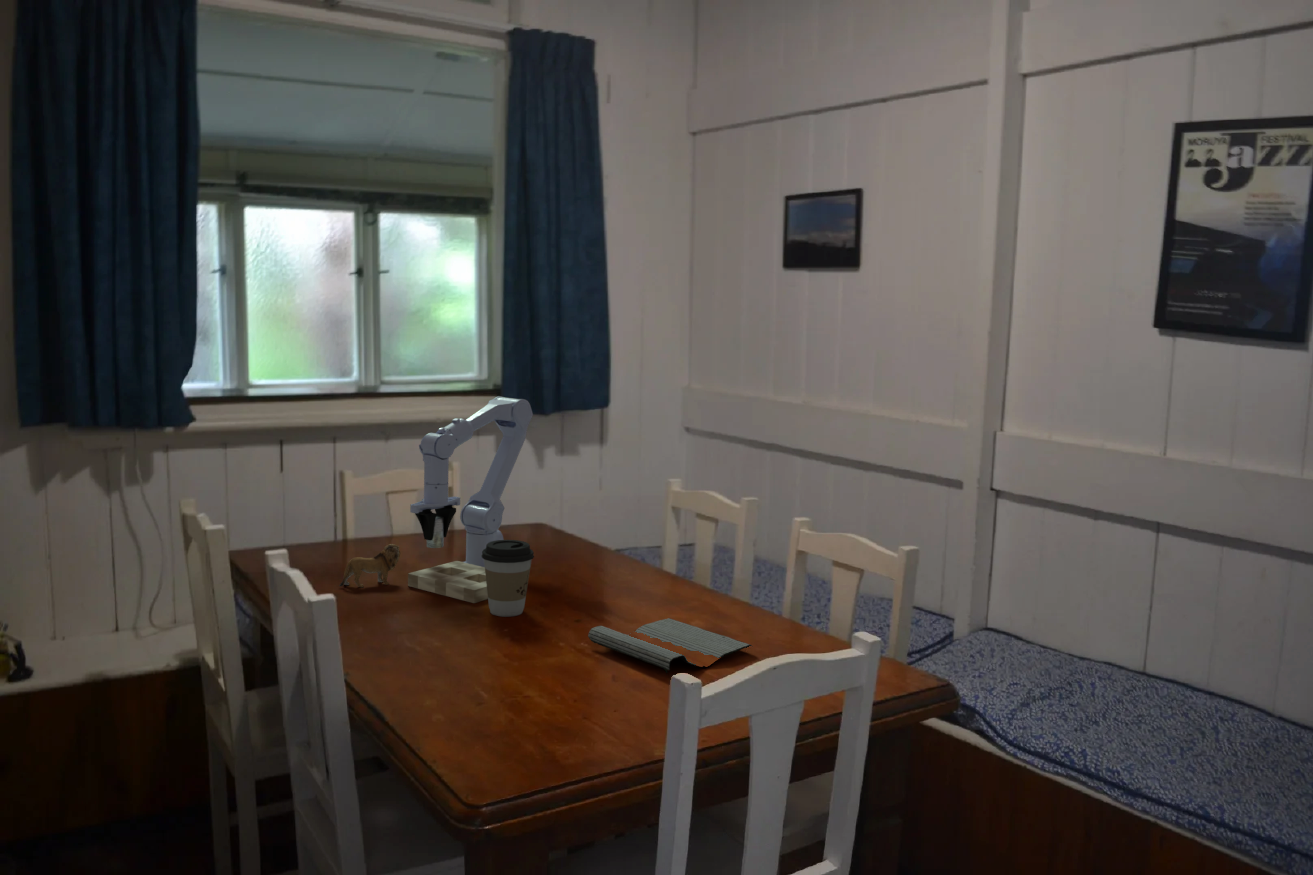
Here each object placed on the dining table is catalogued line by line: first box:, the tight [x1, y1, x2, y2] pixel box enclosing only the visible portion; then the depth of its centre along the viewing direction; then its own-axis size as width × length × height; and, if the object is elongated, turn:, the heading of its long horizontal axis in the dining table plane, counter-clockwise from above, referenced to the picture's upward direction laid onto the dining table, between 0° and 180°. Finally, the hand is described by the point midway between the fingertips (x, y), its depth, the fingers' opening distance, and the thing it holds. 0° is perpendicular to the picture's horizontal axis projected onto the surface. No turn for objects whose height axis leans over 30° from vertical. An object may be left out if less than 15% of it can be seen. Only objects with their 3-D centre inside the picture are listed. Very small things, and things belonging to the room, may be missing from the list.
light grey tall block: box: [426, 516, 445, 549], centre depth 243 cm, size 4×4×7 cm
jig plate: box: [407, 560, 488, 604], centre depth 236 cm, size 16×21×3 cm
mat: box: [587, 617, 753, 674], centre depth 198 cm, size 23×24×5 cm
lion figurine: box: [338, 543, 401, 588], centre depth 235 cm, size 15×5×9 cm, turn 129°
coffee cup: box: [481, 539, 535, 618], centre depth 218 cm, size 11×11×15 cm
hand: (435, 538), depth 244 cm, fingers closed on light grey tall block, 4 cm apart
